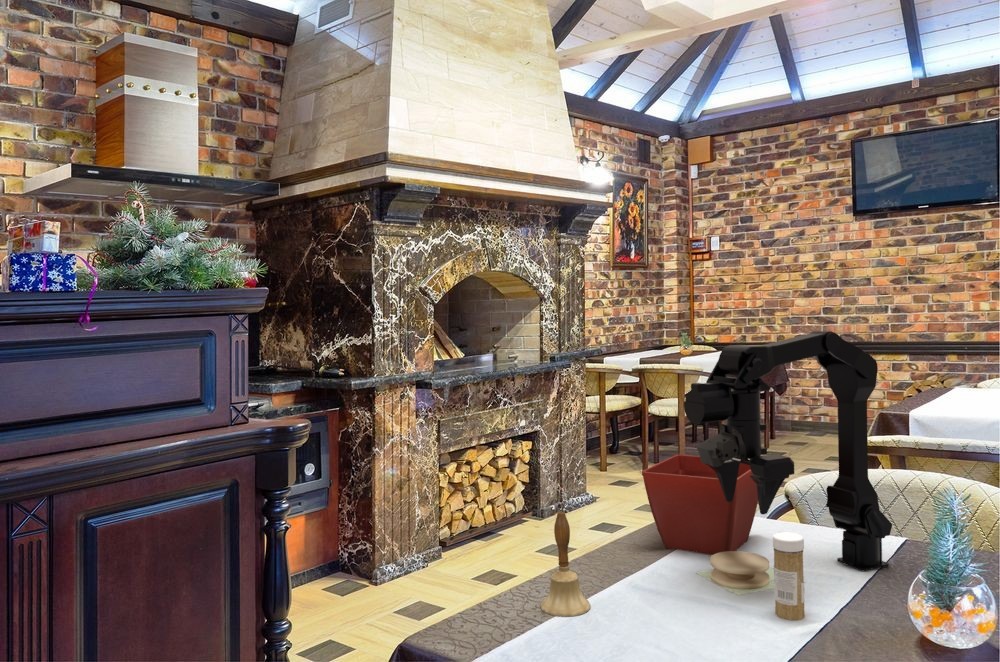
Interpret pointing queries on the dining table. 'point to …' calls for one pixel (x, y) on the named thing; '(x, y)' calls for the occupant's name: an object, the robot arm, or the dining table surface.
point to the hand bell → (564, 579)
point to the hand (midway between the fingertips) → (746, 507)
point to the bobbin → (739, 570)
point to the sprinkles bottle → (788, 575)
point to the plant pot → (699, 505)
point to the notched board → (741, 591)
